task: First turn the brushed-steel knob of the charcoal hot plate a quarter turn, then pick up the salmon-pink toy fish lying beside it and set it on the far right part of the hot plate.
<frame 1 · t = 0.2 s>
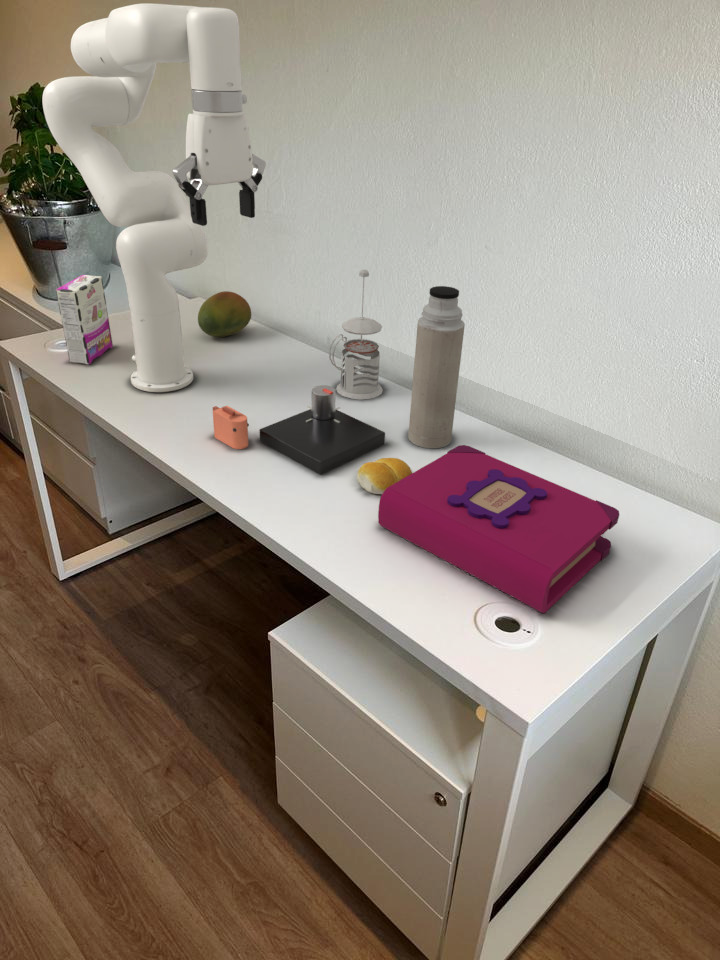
hand: (224, 220, 121), 37 cm above the table, tool pointing down, fingers open, 9 cm apart
thermos bottle: (429, 439, 137), on the table
french press: (355, 390, 154), on the table
book: (493, 541, 110), on the table
candy bar box: (91, 355, 164), on the table
hot plate: (322, 443, 134), on the table
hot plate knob: (323, 401, 136), point 5 cm above the table, hinge at 0.0°
fruit: (224, 335, 178), on the table
bread roll: (384, 484, 123), on the table
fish: (230, 439, 133), on the table
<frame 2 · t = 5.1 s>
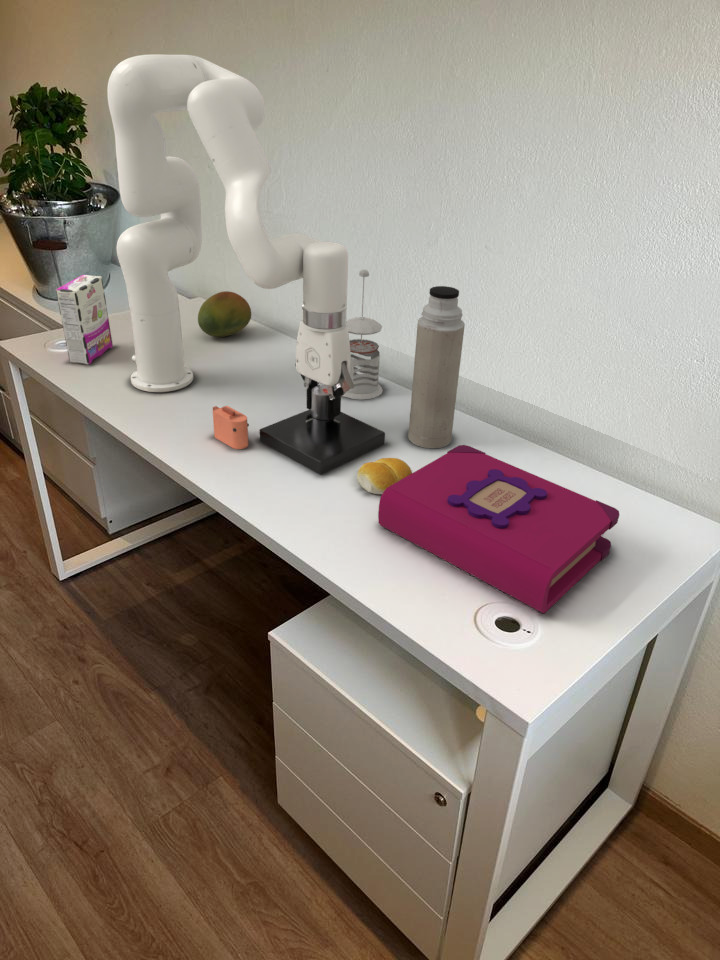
hand: (323, 410, 137), 3 cm above the table, tool pointing down, fingers closed on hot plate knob, 4 cm apart
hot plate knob: (323, 401, 136), point 5 cm above the table, hinge at -0.2°, touching gripper
everything else where it was.
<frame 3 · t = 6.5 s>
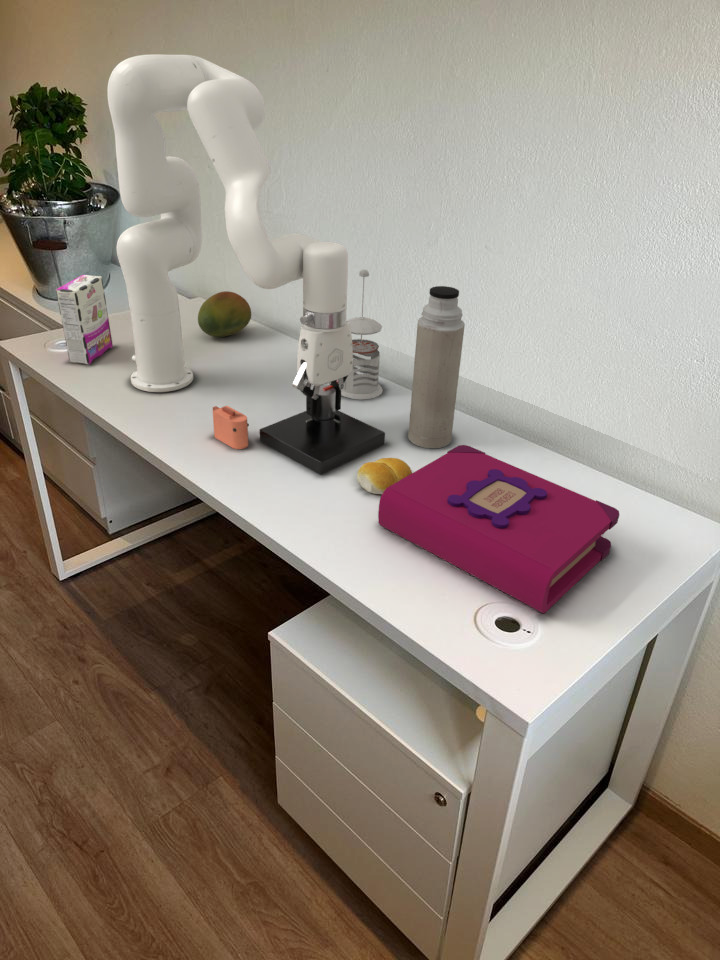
hand: (323, 410, 137), 3 cm above the table, tool pointing down, fingers closed on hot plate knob, 4 cm apart
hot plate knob: (323, 401, 136), point 5 cm above the table, hinge at 90.5°, touching gripper
everything else where it was.
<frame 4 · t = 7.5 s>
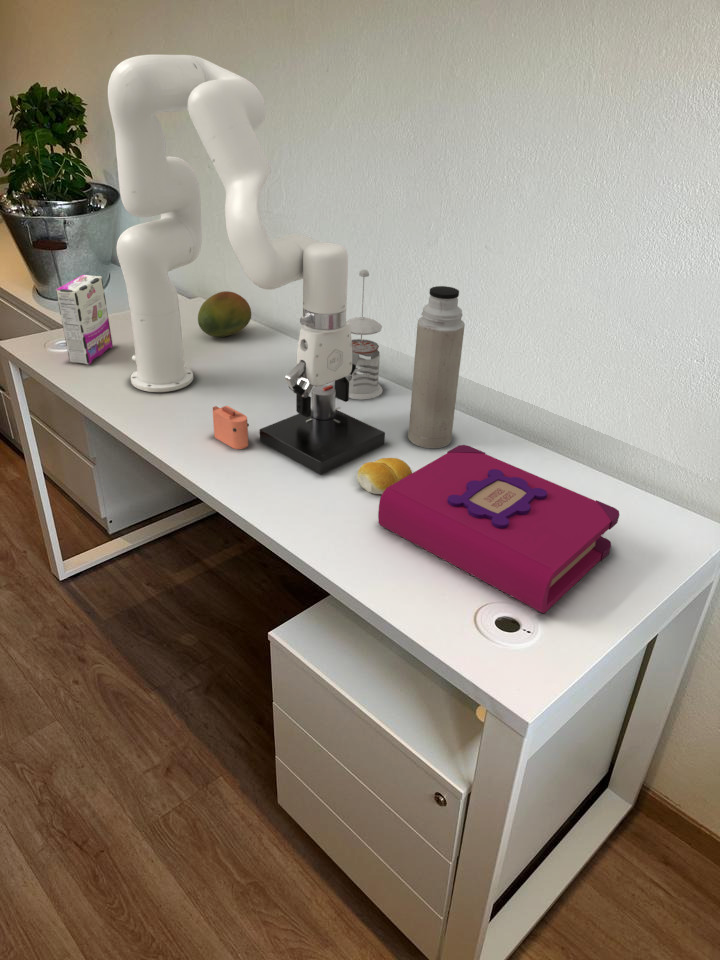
hand: (322, 406, 137), 4 cm above the table, tool pointing down, fingers open, 9 cm apart
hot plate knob: (323, 401, 136), point 5 cm above the table, hinge at 91.5°
everything else where it was.
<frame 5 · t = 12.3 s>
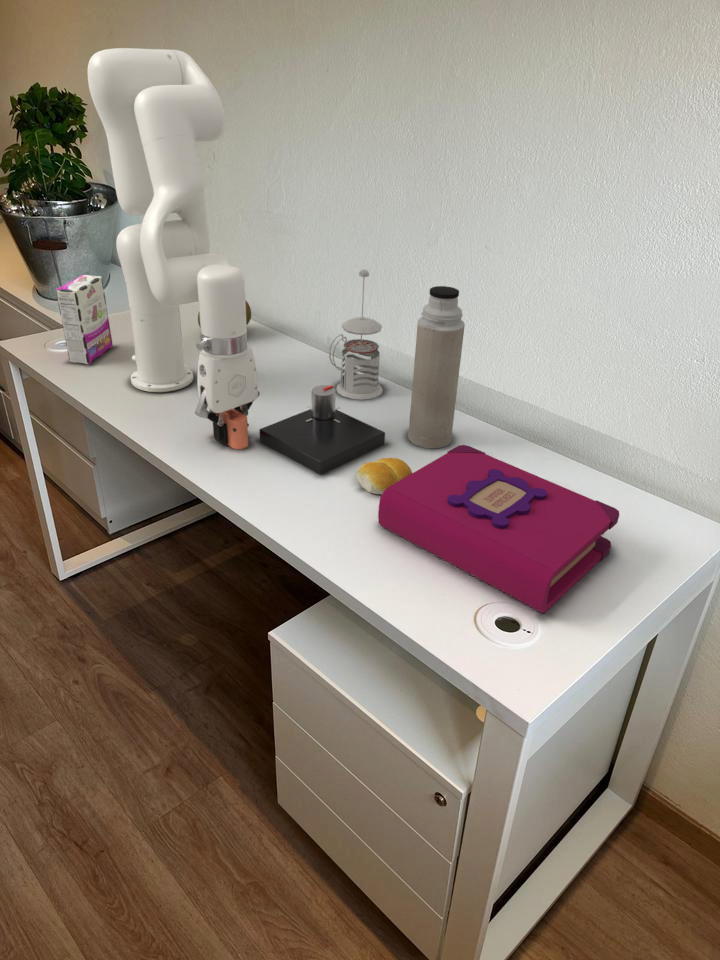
hand: (230, 437, 133), 0 cm above the table, tool pointing down, fingers closed on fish, 3 cm apart
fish: (230, 439, 133), on the table, touching gripper
everything else where it was.
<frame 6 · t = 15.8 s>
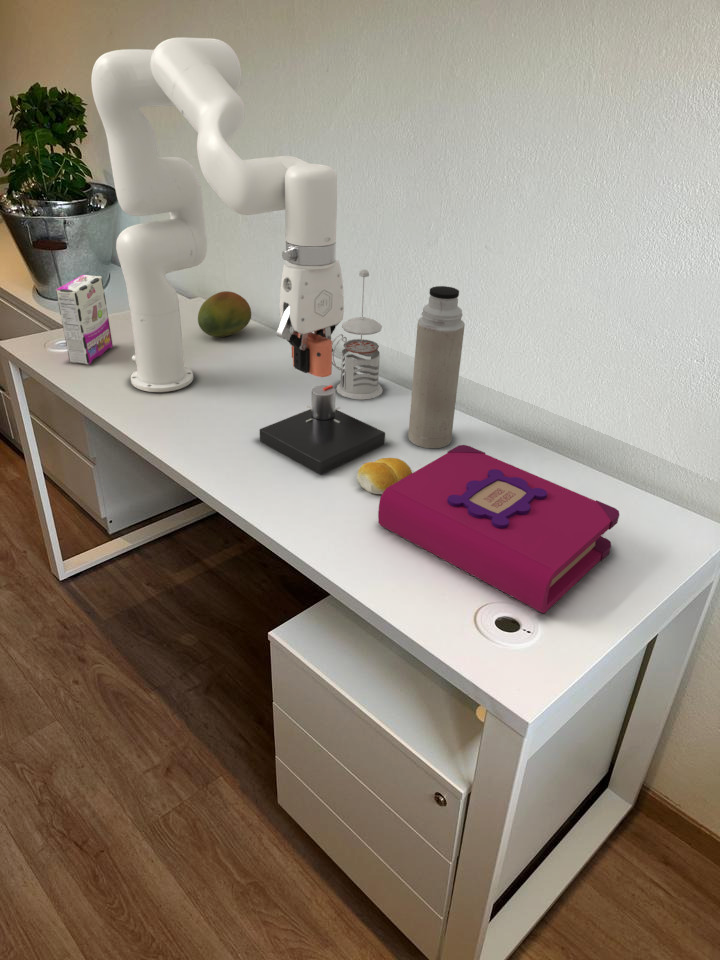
hand: (310, 366, 121), 17 cm above the table, tool pointing down, fingers closed on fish, 3 cm apart
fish: (310, 368, 121), point 16 cm above the table, touching gripper
everything else where it was.
when the fingers open (3 cm above the table, at t = 19.2 s): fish stays where it is, resting on hot plate.
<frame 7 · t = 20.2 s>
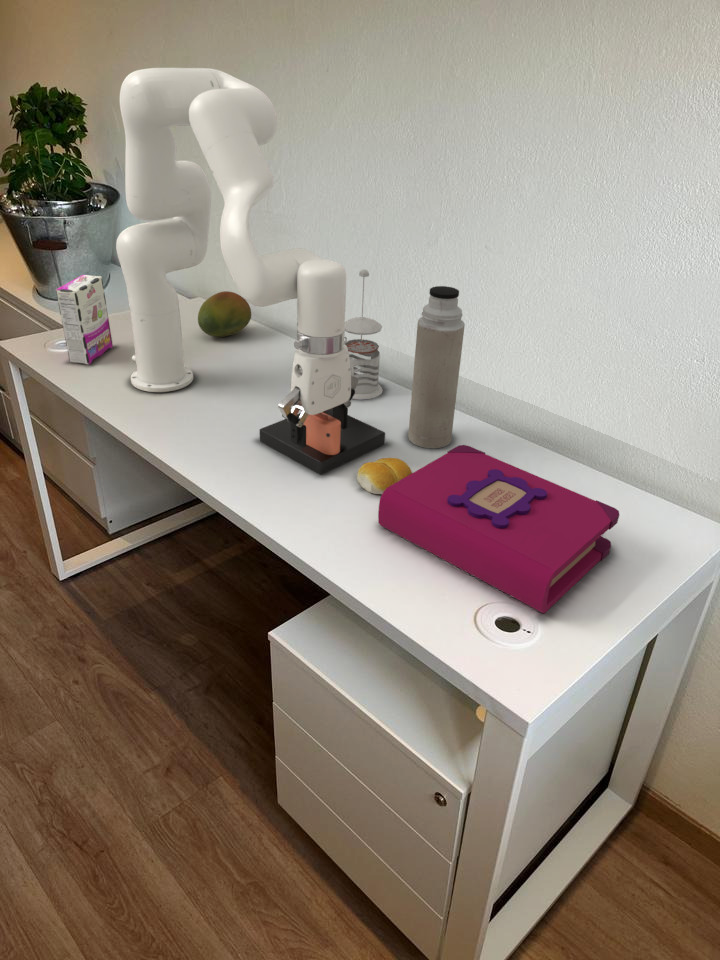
hand: (319, 435, 127), 4 cm above the table, tool pointing down, fingers open, 9 cm apart
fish: (320, 445, 128), point 2 cm above the table, touching hot plate
everything else where it was.
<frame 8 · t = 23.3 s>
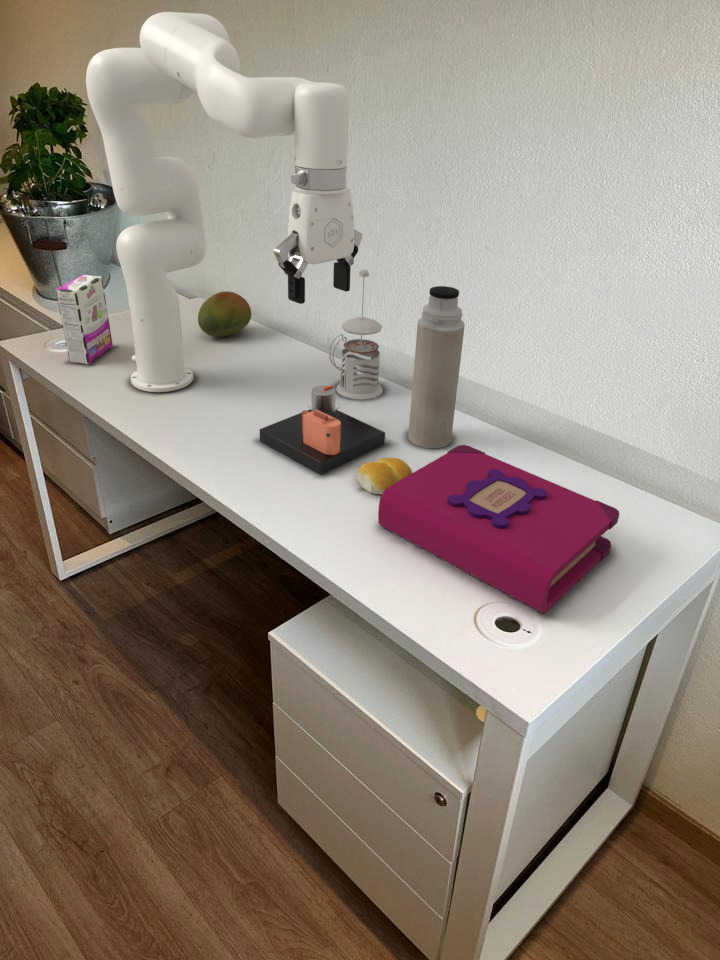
hand: (319, 295, 116), 28 cm above the table, tool pointing down, fingers open, 9 cm apart
nothing on the table moved.
at the end: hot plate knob at +92° (first picture: +0°); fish 0.1 cm from the target spot on the hot plate, point 2.5 cm above the hot plate's base; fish tilted 0° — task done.
